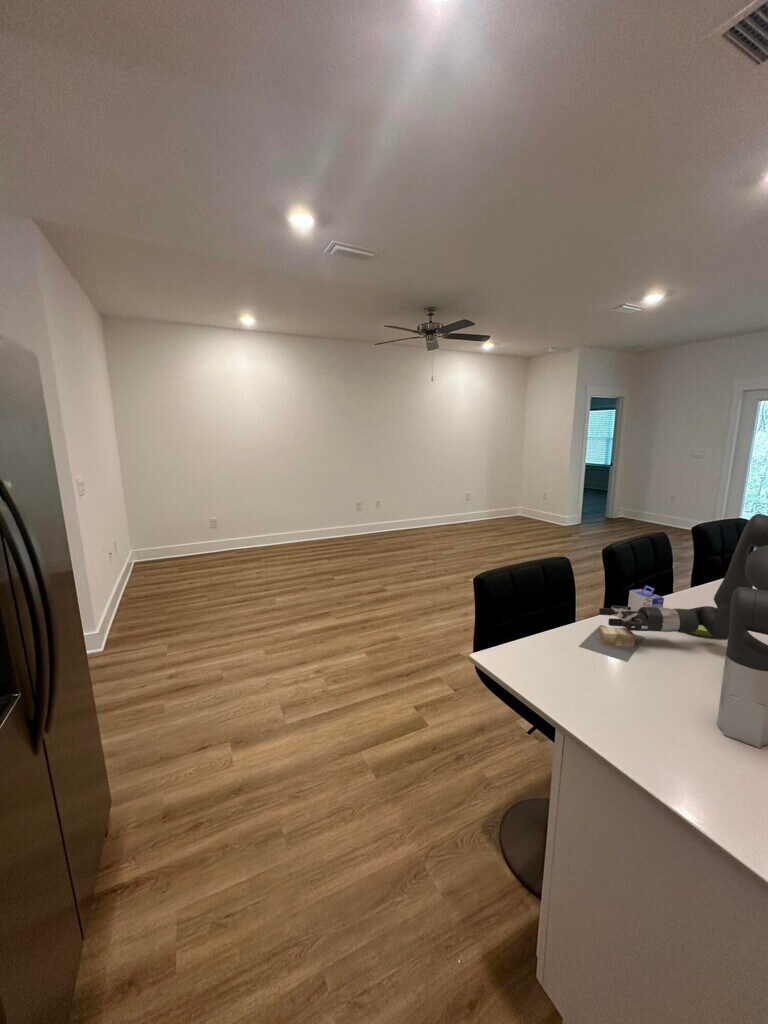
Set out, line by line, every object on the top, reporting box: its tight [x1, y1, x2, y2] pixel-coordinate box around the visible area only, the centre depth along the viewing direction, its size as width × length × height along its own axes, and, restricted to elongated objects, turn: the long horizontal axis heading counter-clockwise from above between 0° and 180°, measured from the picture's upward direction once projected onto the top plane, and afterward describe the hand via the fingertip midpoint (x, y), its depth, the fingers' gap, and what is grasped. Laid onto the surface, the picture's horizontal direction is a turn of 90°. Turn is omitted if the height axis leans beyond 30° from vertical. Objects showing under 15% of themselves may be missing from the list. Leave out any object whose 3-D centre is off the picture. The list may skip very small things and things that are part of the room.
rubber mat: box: [578, 624, 646, 663], centre depth 135 cm, size 22×14×1 cm, turn 136°
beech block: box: [598, 626, 635, 647], centre depth 134 cm, size 4×5×9 cm
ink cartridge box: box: [627, 584, 665, 611], centre depth 146 cm, size 10×6×14 cm, turn 15°
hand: (604, 616), depth 133 cm, fingers open, 8 cm apart
